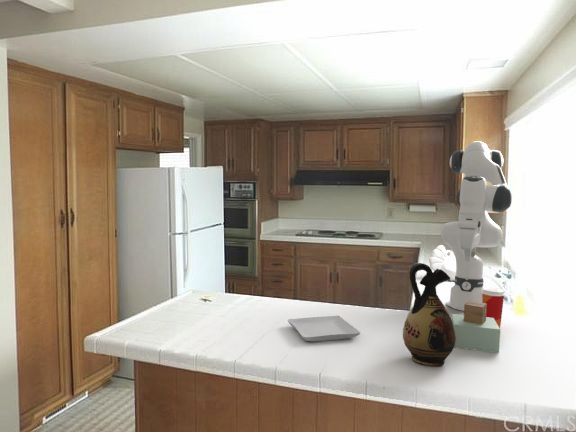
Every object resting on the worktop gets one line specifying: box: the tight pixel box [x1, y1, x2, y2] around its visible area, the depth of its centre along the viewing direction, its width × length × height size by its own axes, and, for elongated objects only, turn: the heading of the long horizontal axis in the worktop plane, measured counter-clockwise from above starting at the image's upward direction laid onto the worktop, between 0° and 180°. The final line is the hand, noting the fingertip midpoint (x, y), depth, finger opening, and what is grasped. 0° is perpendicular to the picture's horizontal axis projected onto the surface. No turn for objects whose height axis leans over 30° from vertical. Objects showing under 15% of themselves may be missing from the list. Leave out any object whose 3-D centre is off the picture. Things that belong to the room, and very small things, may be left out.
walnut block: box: [463, 301, 487, 325], centre depth 153 cm, size 6×6×6 cm
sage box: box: [451, 313, 501, 353], centre depth 153 cm, size 14×14×8 cm
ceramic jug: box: [402, 262, 456, 367], centre depth 135 cm, size 17×15×30 cm
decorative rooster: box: [428, 244, 456, 282], centre depth 265 cm, size 25×16×25 cm, turn 94°
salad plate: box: [287, 315, 361, 343], centre depth 160 cm, size 21×21×3 cm
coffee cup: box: [481, 287, 506, 329], centre depth 170 cm, size 8×8×15 cm
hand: (470, 258), depth 161 cm, fingers open, 8 cm apart
